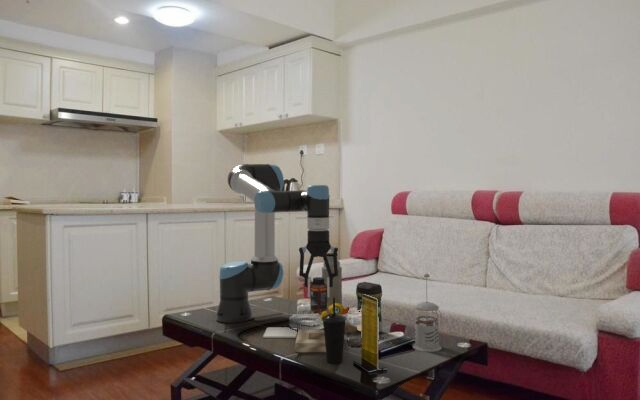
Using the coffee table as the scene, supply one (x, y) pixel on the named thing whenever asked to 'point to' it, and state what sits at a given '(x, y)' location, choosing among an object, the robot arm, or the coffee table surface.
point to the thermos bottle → (337, 282)
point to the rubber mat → (279, 332)
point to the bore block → (310, 341)
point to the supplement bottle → (318, 295)
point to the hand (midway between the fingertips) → (318, 296)
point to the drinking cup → (334, 336)
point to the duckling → (336, 310)
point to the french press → (427, 327)
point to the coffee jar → (370, 290)
